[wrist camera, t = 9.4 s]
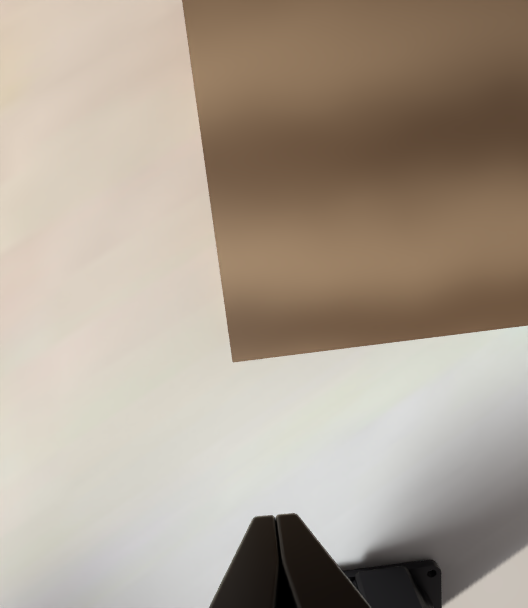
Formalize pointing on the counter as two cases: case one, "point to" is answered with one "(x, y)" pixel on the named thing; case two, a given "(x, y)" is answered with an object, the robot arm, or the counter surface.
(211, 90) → the walnut deck
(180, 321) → the counter surface
